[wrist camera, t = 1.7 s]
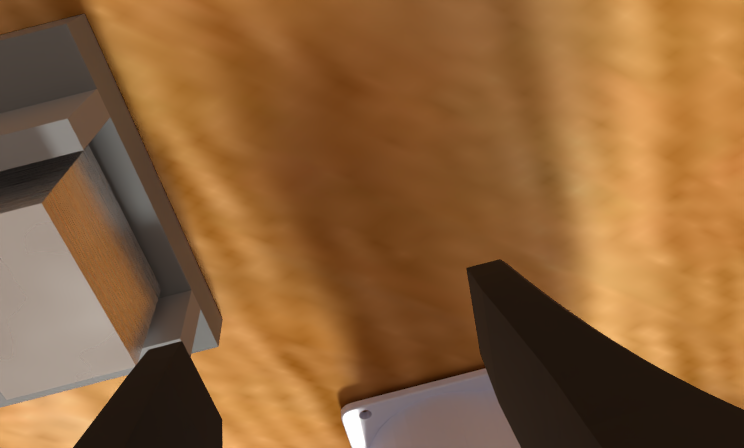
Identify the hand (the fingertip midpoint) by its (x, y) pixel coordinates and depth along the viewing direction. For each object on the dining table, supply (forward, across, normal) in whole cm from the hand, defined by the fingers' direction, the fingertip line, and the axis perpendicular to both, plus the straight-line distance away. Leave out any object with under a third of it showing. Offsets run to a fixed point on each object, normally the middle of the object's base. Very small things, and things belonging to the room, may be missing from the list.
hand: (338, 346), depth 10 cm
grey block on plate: (+8, +9, 0) cm, 12 cm away
